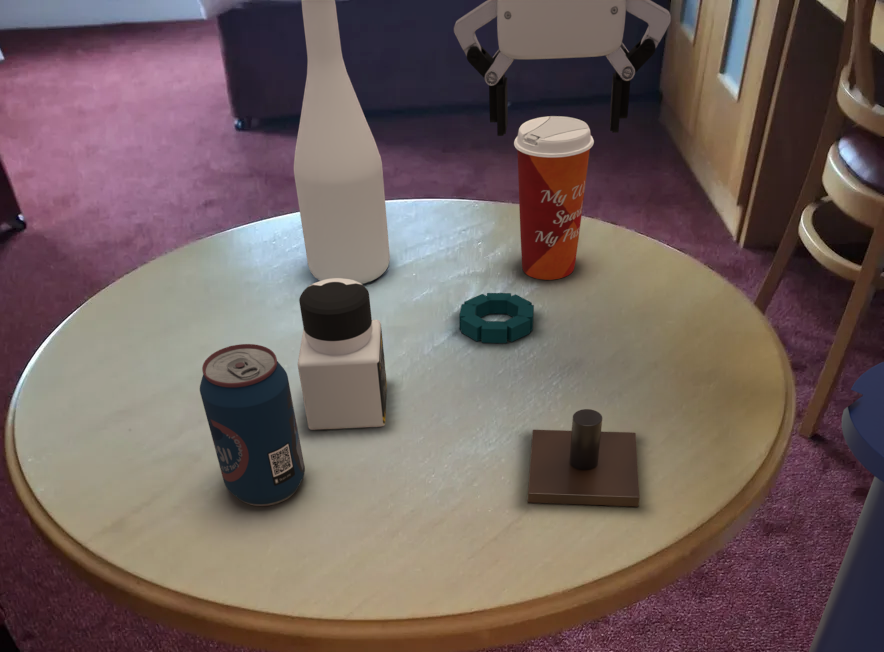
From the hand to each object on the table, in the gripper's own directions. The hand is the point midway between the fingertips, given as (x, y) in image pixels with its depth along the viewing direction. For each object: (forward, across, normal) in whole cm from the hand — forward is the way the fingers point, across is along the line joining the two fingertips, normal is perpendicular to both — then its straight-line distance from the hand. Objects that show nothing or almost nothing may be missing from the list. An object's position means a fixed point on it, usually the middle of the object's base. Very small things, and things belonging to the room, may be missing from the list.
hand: (557, 128), depth 79 cm
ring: (+19, +6, -3) cm, 20 cm away
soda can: (+20, +24, +26) cm, 40 cm away
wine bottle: (+20, +24, -14) cm, 34 cm away
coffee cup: (+20, +1, -16) cm, 26 cm away
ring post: (+20, -3, +22) cm, 30 cm away
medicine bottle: (+20, +19, +13) cm, 31 cm away
